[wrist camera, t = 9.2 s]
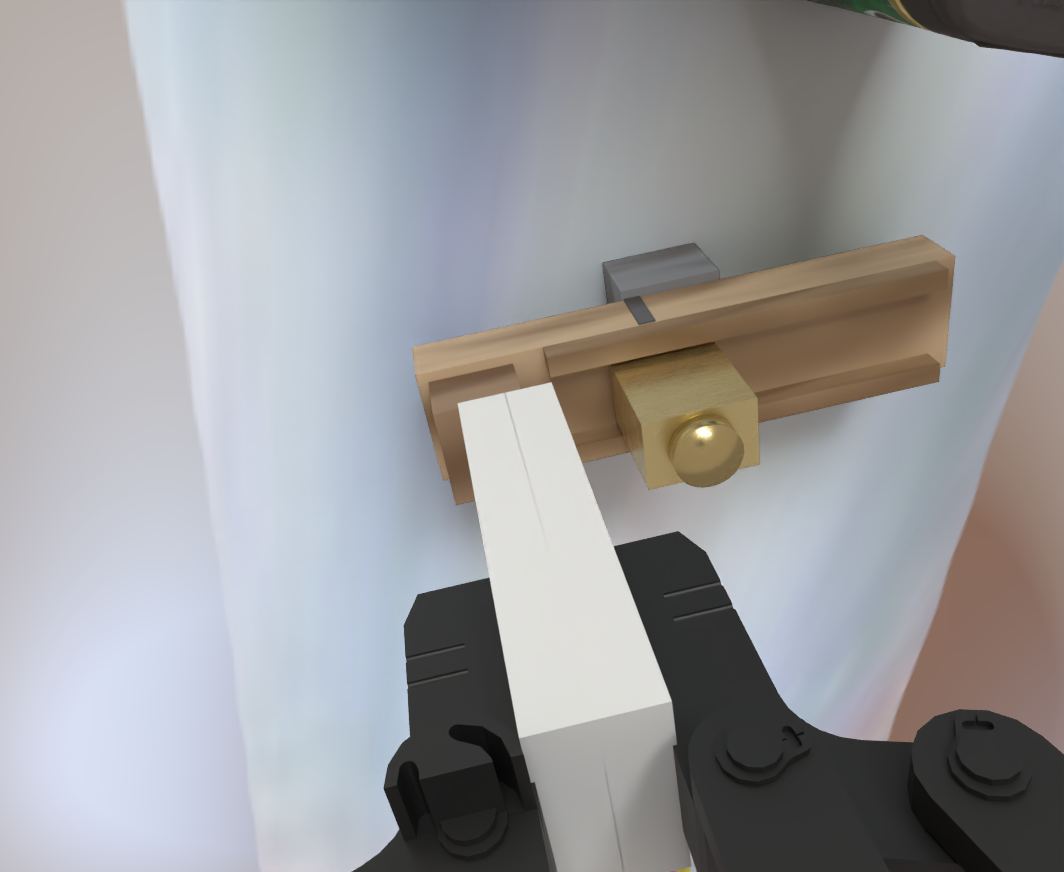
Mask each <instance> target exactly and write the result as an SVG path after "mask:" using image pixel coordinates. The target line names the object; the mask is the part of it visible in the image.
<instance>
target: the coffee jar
mask: <svg viewBox="0 0 1064 872" xmlns="http://www.w3.org/2000/svg"><path fill="white" fill-rule="evenodd" d="M808 1H812V2H817V3H820V4H825V5H830V6H835V7H839V8H843V9H847V10H851V11H855V12H859V13H862V14H866V15H870V16H875V17H879V18H883V19H887V20H891V21H894V22H898V23H902V24H907V25H911V26H915V27H919V28H923V29H926V30H930V31H932V32H935V33H939V34H942V35H946V36H950V37H954V38H958V39H961V40H965V41H969V42H974V43H975V44H976V45H978V46H979V47H986V48H996V49H1004V50H1011V51H1017V52H1025V53H1034V54H1041V55H1047V56H1053V57H1060V58H1064V0H808Z"/></svg>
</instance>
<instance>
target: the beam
mask: <svg viewBox="0 0 1064 872" xmlns="http://www.w3.org/2000/svg"><path fill="white" fill-rule="evenodd" d="M602 264H603V271H604V279H605V287H606V295H607V302H608V304H606V305H601V306H597V307H592V308H587V309H583V310H578V311H574V312H569V313H565V314H560V315H556V316H551V317H546V318H542V319H537V320H533V321H528V322H524V323H519V324H515V325H510V326H505V327H501V328H496V329H492V330H487V331H483V332H478V333H474V334H469V335H464V336H460V337H455V338H451V339H446V340H442V341H437V342H433V343H428V344H423V345H419V346H414V347H412V349H413V358H414V368H415V376H416V380H417V383H418V387H419V391H420V395H421V398H422V402H423V406H424V410H425V414H426V417H427V421H428V425H429V429H430V432H431V436H432V440H433V444H434V448H435V451H436V455H437V459H438V463H439V466H440V470H441V474H442V478H443V480H447V479H450V483H451V487H452V490H453V494H454V498H455V502H456V505H459V504H464V503H468V502H472V501H475V496H474V490H473V485H472V479H471V474H470V468H469V463H468V458H467V452H466V447H465V441H464V436H463V430H462V425H461V419H460V414H459V409H458V403H461V402H466V401H470V400H475V399H479V398H484V397H488V396H492V395H497V394H501V393H506V392H510V391H515V390H519V389H524V388H528V387H533V386H537V385H542V384H546V383H551V382H552V385H553V388H554V390H555V393H556V396H557V398H558V401H559V404H560V406H561V409H562V412H563V414H564V417H565V420H566V422H567V425H568V427H569V430H570V433H571V435H572V438H573V441H574V443H575V446H576V449H577V451H578V454H579V457H580V459H581V462H582V463H584V462H588V461H593V460H597V459H601V458H606V457H610V456H615V455H619V454H623V453H628V452H631V451H630V449H629V447H628V445H627V443H626V440H625V438H624V436H623V434H622V432H621V430H620V428H619V426H618V423H617V421H616V415H615V408H614V400H613V393H612V385H611V378H610V370H609V365H610V364H614V363H619V362H623V361H628V360H632V359H637V358H641V357H645V356H650V355H654V354H659V353H663V352H668V351H672V350H677V349H681V348H686V347H690V346H695V345H699V344H704V343H708V342H713V341H714V342H715V343H716V344H717V346H718V347H719V348H720V349H721V351H722V352H723V353H724V355H725V356H726V357H727V359H728V360H729V361H730V363H731V364H732V365H733V366H734V368H735V369H736V370H737V372H738V373H739V374H740V376H741V377H742V378H743V380H744V381H745V382H746V384H747V385H748V386H749V387H750V389H751V390H752V391H753V393H754V394H755V395H756V397H757V399H758V423H760V422H764V421H768V420H773V419H777V418H782V417H786V416H790V415H795V414H799V413H803V412H808V411H812V410H817V409H821V408H825V407H830V406H834V405H839V404H843V403H847V402H852V401H856V400H861V399H865V398H869V397H874V396H878V395H883V394H887V393H891V392H896V391H900V390H904V389H909V388H913V387H918V386H922V385H926V384H931V383H935V382H939V375H940V367H945V362H946V351H947V340H948V330H949V319H950V308H951V297H952V286H953V275H954V265H955V255H953V254H952V253H950V252H948V251H947V250H945V249H944V248H942V247H941V246H939V245H937V244H936V243H934V242H933V241H931V240H930V239H928V238H926V237H925V236H923V235H920V236H915V237H911V238H906V239H902V240H897V241H893V242H888V243H884V244H879V245H874V246H870V247H865V248H861V249H856V250H852V251H847V252H843V253H838V254H833V255H829V256H824V257H820V258H815V259H811V260H806V261H802V262H797V263H792V264H788V265H783V266H779V267H774V268H770V269H765V270H761V271H756V272H751V273H747V274H742V275H738V276H733V277H729V278H724V279H720V274H719V269H718V268H717V267H716V266H715V265H714V264H713V263H712V262H711V261H710V259H709V258H708V257H707V256H706V255H705V254H704V253H703V252H702V251H701V250H700V248H699V247H698V246H697V245H696V244H695V243H691V244H686V245H682V246H677V247H673V248H668V249H663V250H659V251H654V252H650V253H645V254H640V255H636V256H631V257H627V258H622V259H617V260H613V261H608V262H604V263H602Z"/></svg>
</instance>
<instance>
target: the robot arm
mask: <svg viewBox="0 0 1064 872" xmlns="http://www.w3.org/2000/svg"><path fill="white" fill-rule="evenodd" d="M458 409H459V414H460V419H461V425H462V430H463V436H464V441H465V447H466V452H467V458H468V463H469V468H470V474H471V479H472V485H473V490H474V496H475V501H476V507H477V512H478V518H479V523H480V528H481V534H482V539H483V545H484V550H485V556H486V561H487V567H488V572H489V577H490V578H486V579H482V580H478V581H473V582H469V583H465V584H460V585H456V586H452V587H448V588H443V589H439V590H435V591H430V592H426V593H422V594H418V595H417V597H416V600H415V602H414V604H413V606H412V608H411V611H410V613H409V615H408V617H407V619H406V622H405V624H404V637H405V655H406V661H407V663H406V673H407V684H408V689H407V690H408V708H409V725H410V737H409V738H408V739H407V740H405V741H404V742H403V743H402V744H401V746H400V747H399V749H398V750H397V752H396V753H395V755H394V756H393V758H392V760H391V761H390V763H389V764H388V768H387V773H386V778H385V784H384V791H385V793H386V796H387V798H388V801H389V803H390V806H391V809H392V811H393V814H394V816H395V819H396V821H397V824H398V826H399V831H398V832H397V834H396V836H395V837H394V838H393V839H392V840H391V841H390V842H389V844H388V845H387V846H386V847H385V848H384V849H383V850H382V851H381V852H380V853H379V854H378V855H376V856H375V857H373V858H372V859H371V860H369V861H368V862H366V863H365V864H364V865H362V866H361V867H359V868H357V869H356V870H354V871H352V872H671V871H675V870H679V869H683V868H687V867H691V860H690V853H691V856H692V859H693V862H694V865H695V868H696V871H697V872H1064V754H1063V753H1061V752H1060V751H1059V750H1058V749H1057V748H1056V747H1054V746H1053V745H1052V744H1051V743H1050V742H1049V741H1047V740H1046V739H1045V738H1044V737H1043V736H1041V735H1040V734H1038V733H1037V732H1035V731H1033V730H1032V729H1030V728H1029V727H1027V726H1026V725H1024V724H1022V723H1021V722H1019V721H1018V720H1015V719H1013V718H1009V717H1006V716H1003V715H1000V714H997V713H994V712H991V711H986V710H962V709H959V710H956V711H952V712H948V713H945V714H941V715H938V716H935V717H934V718H932V719H931V720H930V721H929V722H928V723H926V724H925V725H924V726H923V727H922V728H920V729H919V730H918V732H917V734H916V737H915V740H914V743H911V742H890V741H869V740H857V739H850V738H843V737H839V736H836V735H833V734H830V733H827V732H824V731H821V730H819V729H817V728H815V727H813V726H812V725H810V724H808V723H806V722H805V721H804V720H803V719H801V718H799V717H798V716H797V715H796V714H795V713H793V712H792V711H791V710H790V709H789V708H788V707H787V705H786V704H785V703H784V701H783V700H782V698H781V697H780V695H779V694H778V692H777V690H776V688H775V686H774V684H773V682H772V680H771V678H770V677H769V675H768V673H767V671H766V669H765V667H764V665H763V663H762V661H761V659H760V657H759V655H758V653H757V651H756V649H755V647H754V645H753V643H752V641H751V639H750V637H749V635H748V634H747V632H746V630H745V628H744V626H743V624H742V622H741V620H740V618H739V616H738V614H737V612H736V610H735V609H733V606H732V602H731V600H730V598H729V596H728V594H727V592H726V591H725V589H724V587H723V586H722V585H721V582H720V579H719V577H718V575H717V573H716V571H715V569H714V567H713V565H712V563H711V561H710V559H709V557H708V555H707V553H706V552H705V551H704V550H702V549H701V548H700V547H698V546H697V545H696V544H694V543H693V542H692V541H690V540H689V539H688V538H686V537H685V536H684V535H682V534H681V533H680V532H678V531H677V532H673V533H669V534H665V535H660V536H656V537H652V538H647V539H643V540H639V541H635V542H630V543H626V544H622V545H617V546H613V544H612V541H611V539H610V536H609V533H608V531H607V528H606V525H605V523H604V520H603V518H602V515H601V512H600V510H599V507H598V504H597V502H596V499H595V496H594V494H593V491H592V488H591V486H590V483H589V480H588V478H587V475H586V473H585V470H584V467H583V465H582V462H581V459H580V457H579V454H578V451H577V449H576V446H575V443H574V441H573V438H572V435H571V433H570V430H569V427H568V425H567V422H566V420H565V417H564V414H563V412H562V409H561V406H560V404H559V401H558V398H557V396H556V393H555V390H554V388H553V385H552V382H551V383H546V384H542V385H537V386H533V387H528V388H524V389H519V390H515V391H510V392H506V393H501V394H497V395H492V396H488V397H484V398H479V399H475V400H470V401H466V402H461V403H458ZM689 850H690V851H689Z"/></svg>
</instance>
